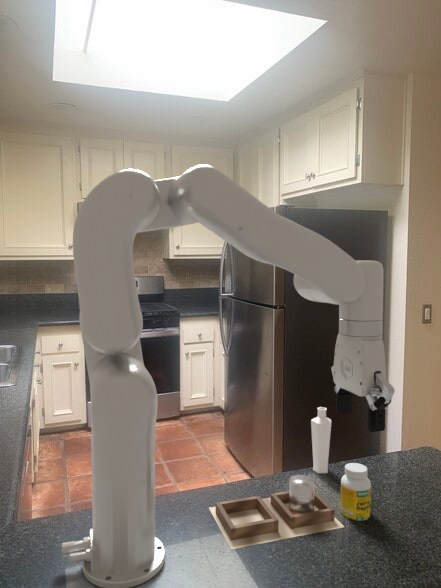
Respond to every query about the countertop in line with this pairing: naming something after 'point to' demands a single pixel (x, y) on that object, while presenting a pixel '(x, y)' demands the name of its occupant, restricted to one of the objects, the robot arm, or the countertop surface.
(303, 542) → the countertop surface
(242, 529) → the socket board
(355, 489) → the supplement bottle
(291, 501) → the silver cylinder
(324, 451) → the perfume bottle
